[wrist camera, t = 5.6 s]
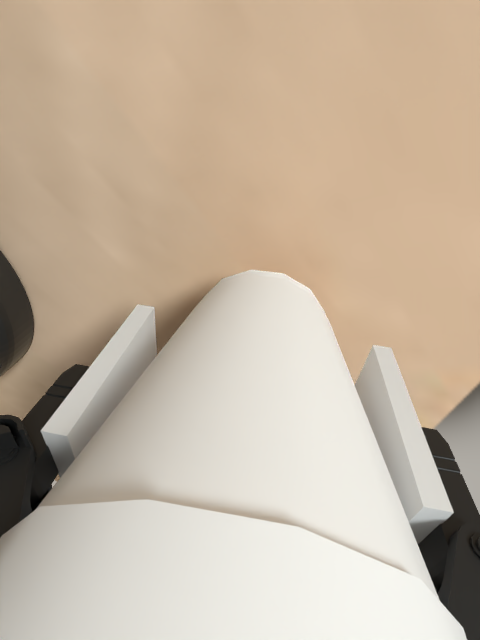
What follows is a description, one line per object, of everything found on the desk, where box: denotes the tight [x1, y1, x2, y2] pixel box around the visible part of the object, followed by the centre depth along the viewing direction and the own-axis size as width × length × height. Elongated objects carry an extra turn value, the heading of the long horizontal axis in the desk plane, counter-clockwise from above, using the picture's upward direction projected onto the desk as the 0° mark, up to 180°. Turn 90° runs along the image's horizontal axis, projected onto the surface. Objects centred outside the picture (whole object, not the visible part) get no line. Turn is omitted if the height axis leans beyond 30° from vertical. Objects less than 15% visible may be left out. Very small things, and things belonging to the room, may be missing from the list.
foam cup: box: [0, 270, 467, 640], centre depth 10 cm, size 10×9×13 cm
